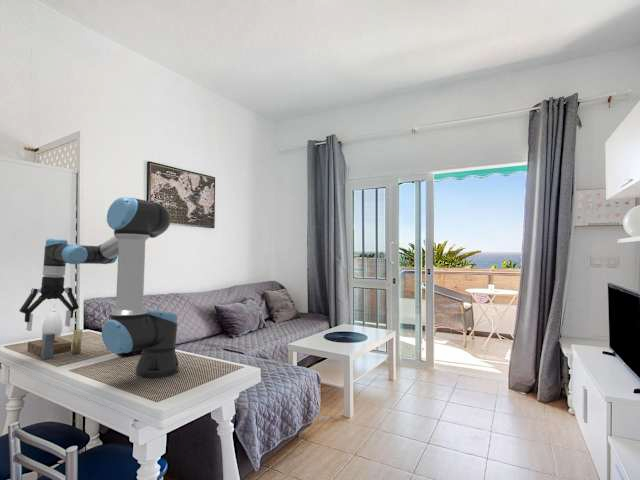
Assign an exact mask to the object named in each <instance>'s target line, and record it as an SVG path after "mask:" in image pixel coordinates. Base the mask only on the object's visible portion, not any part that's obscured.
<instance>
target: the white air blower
mask: <svg viewBox="0 0 640 480" xmlns="http://www.w3.org/2000/svg"><path fill="white" fill-rule="evenodd" d="M41 331H42V333H41V334H45V333H54V334H55V338H61V335H62V334H63V333H62V332H63V320H62V317H61V315H60V313H59V312H58V309H57V308H56V304H53V308H52V309H51V310H50V312H49V313H47V315H46V317H45V318H44V320H43V324H42V327H41Z"/></svg>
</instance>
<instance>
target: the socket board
mask: <svg viewBox="0 0 640 480" xmlns="http://www.w3.org/2000/svg"><path fill="white" fill-rule="evenodd" d="M72 345H73V341H72V342H71V341H69V340H67V339H64V338H61V337H59V338H55V339H54V350H53V355H56V354H64V353H70V352H71V353H72ZM41 346H42V339H40V340H34V341H33V340H31V341H28V342H27V352H28V351H29V352H28V353H30V352H31V353H30V354H32V353H33V354H32V355H34V354H35V355H34V356H36V355H37V356H36V357H41Z"/></svg>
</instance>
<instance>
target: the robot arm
mask: <svg viewBox="0 0 640 480" xmlns="http://www.w3.org/2000/svg"><path fill="white" fill-rule="evenodd" d="M106 213H107V214H106V222H107V224H108V226H109V228H111V229H112V230H114V231H113V237H111V238H110V239H108V240H106V241H104V242H103V243H101V244H99V245H83V244H81V245H80V244H79V245H78V244H69V243H68V240H67V239H65V238H64V239H63V238H47V239H46V241H45V245H44V254H43V266H42V267H43V268H42V278H41V286H40V288H31V290H30V294H29V295H28V297H27V298H26V299H25V301H24V303H23V304H22V306H21V307H20V309H19V310H18V311H19V312H20V313H23V314H24V322H25V323H26V331H28V332H30V331H31V332H32V329H33V328H32V327H33V317H34V314H33V313H32V312H34V311H35V310H36V309H37V308H38V307H39V306H40V305H41V304H42V303H43V302H44V301H45V300H52V299H53V300H57V299H59V301H60V302H62V304H63V305H64V306H65V307H66V309H67V310H66V312H65V322H64V326H65V327H71V319H73V318H74V312H75V310H79V308H80V306H79V304H78V302H77V300H76V298H75V295H74V293H73V288H72V287H69V286H68V287H64V286H65V277H64V276H65V275H66V266H67V264H69V265H81V264H82V265H85V264H86V265H87V264H89V265H91V264H92V265H93V264H94V265H95V264H97V265H109V264H114V263H115V262H116V260H117V272H116V273H117V274H116V275H117V276H116V295H115V296H116V299H115V308H114V310H113V311H112V312H111V313H110V319H109V320H107V321H105V323H104V324H103V326H102V328H101V339H102V342H103V344H104V346H105V348H106V349H107V350H108V351H109V352H110V353H112V354H116V355H117V354H120V353H128V352H130V351H135V350H139V349H143V350H142V353H140V357H139V360H138V362H137V365H136V368H135V375H136V376H138V377H140V378H144V379H145V378H147V379H159V378H160V379H161V378H166V377H167V378H168V377H170V376H173V374H174V375H176V374H178V373H179V371H180V370H179V369H180V363H179V360H178V355H177V353H176V343H177V332H178V325H179V324H178V323H179V322H178V315H177V313H175V312H171V311H166V310H165V311H164V310H146V309H145V308H144V292H145V291H144V290H145V289H144V288H145V266H146V265H145V264H146V263H145V260H146V241H147V240H148V239H150V238H152V239H153V238H154V239H155V238H157V237H159V236H161V235H162V234H164V233H165V232H166V231H167V230H168V228H169V227H170V225H171V220H172V219H171V212H170V211H169V210H168V208H167V207H166V206H165V205H163V204H161V203H159V202H156V201H150V200H144V199H141V198H140V199H139V198H135V197H127V196H126V197H125V196H124V197H119V198H117V199H115V200H114V201H113V202H112V203H111V204H110V205H109V208H108V210H107V212H106ZM39 293H40V294H41V295H40V296H38V298H37V299H36V300H35V301H34V299H35V298H36V296H37V295H38V294H39ZM64 293H66V295H67V297H68V299H69V301H70V302H69V301H68V300H67V299H66V298H65V296H64V295H63V294H64ZM33 301H34V302H33ZM178 370H179V371H178ZM175 373H176V374H175Z"/></svg>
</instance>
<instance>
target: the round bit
mask: <svg viewBox="0 0 640 480" xmlns="http://www.w3.org/2000/svg"><path fill="white" fill-rule="evenodd" d="M72 333H73V334H72V335H73V337H72V345H71V355H72V356H73V355H74V356H75V355H80V354H81V351H82V342H83V329H74V330H73V332H72Z"/></svg>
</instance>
